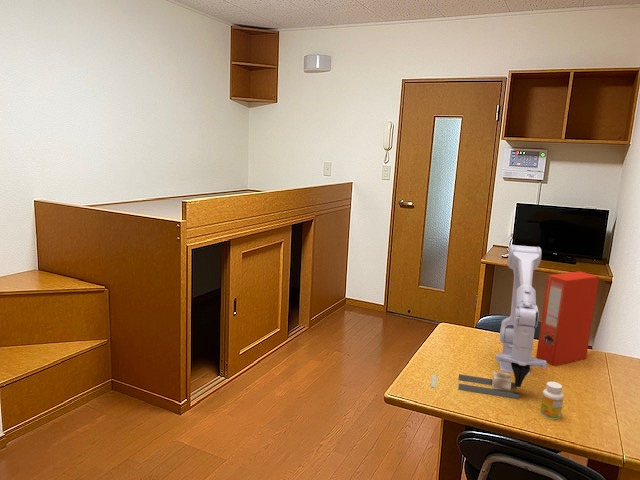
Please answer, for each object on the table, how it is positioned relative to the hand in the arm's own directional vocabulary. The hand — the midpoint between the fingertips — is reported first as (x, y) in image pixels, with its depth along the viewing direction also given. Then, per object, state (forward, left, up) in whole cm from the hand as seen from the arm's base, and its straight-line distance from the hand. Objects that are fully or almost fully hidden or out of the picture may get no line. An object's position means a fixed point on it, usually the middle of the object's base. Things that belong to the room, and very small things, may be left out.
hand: (517, 385), depth 153 cm
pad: (+22, 0, -3) cm, 23 cm away
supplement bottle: (-8, +10, -3) cm, 13 cm away
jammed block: (+5, 0, -3) cm, 5 cm away
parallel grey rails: (+9, 0, -3) cm, 9 cm away
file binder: (-19, -35, -3) cm, 40 cm away
